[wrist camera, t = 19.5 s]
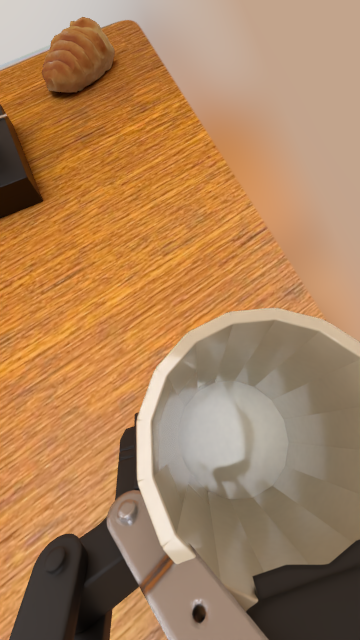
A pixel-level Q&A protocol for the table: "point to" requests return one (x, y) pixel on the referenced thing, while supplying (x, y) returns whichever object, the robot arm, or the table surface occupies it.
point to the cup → (254, 445)
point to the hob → (14, 172)
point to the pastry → (77, 57)
